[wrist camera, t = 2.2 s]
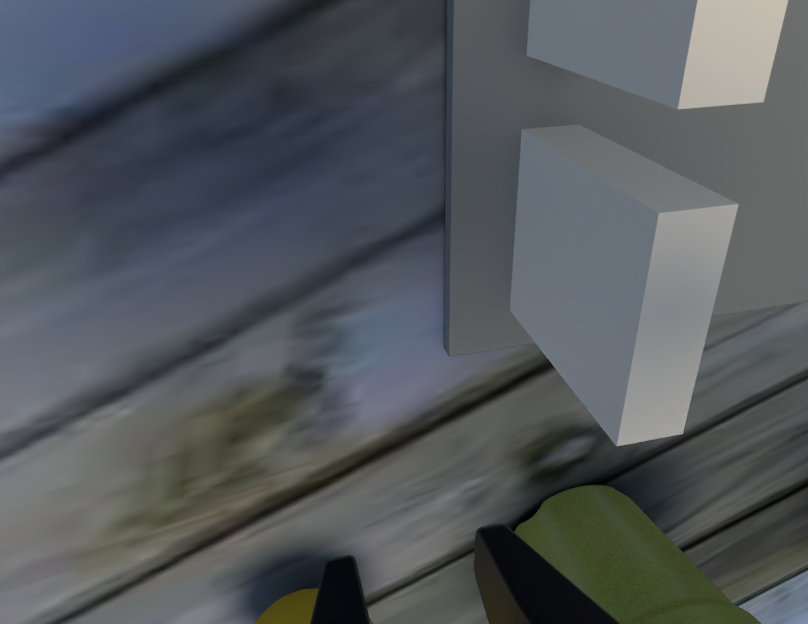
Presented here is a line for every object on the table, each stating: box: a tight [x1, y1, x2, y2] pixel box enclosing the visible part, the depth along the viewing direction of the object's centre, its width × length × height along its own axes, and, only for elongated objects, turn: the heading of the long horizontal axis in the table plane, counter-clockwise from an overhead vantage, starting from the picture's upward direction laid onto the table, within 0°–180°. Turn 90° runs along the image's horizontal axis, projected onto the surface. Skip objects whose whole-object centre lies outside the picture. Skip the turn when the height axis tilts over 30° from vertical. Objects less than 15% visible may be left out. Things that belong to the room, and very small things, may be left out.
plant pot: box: [514, 485, 761, 624], centre depth 25 cm, size 9×9×9 cm
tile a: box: [510, 124, 739, 446], centre depth 17 cm, size 2×6×7 cm, turn 2°
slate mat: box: [444, 0, 808, 357], centre depth 19 cm, size 15×17×1 cm
